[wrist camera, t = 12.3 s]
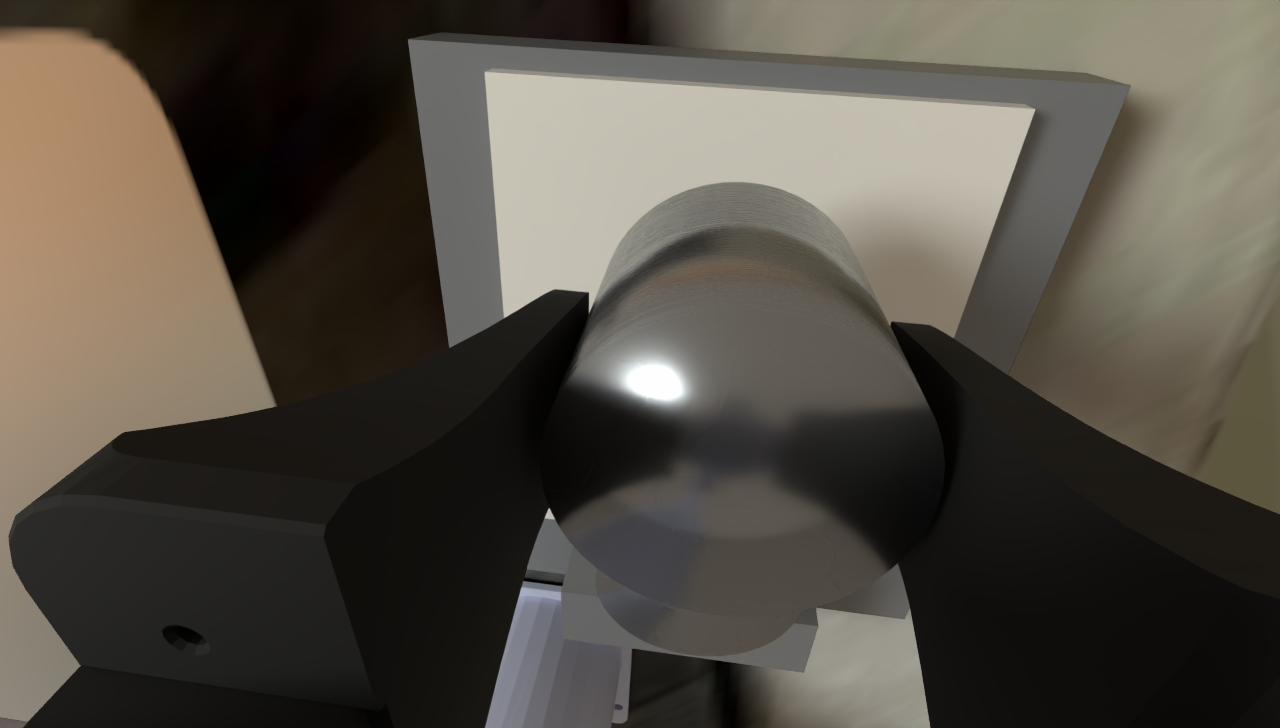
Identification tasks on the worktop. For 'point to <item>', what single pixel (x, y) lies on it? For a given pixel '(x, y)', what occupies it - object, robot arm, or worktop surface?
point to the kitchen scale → (754, 153)
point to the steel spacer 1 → (740, 413)
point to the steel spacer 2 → (687, 624)
